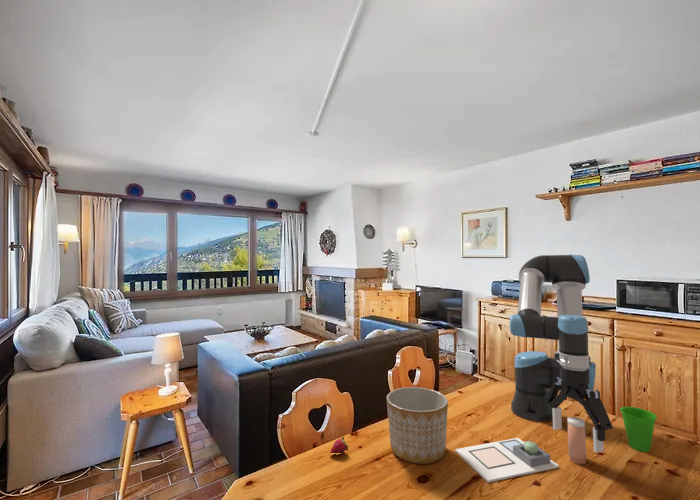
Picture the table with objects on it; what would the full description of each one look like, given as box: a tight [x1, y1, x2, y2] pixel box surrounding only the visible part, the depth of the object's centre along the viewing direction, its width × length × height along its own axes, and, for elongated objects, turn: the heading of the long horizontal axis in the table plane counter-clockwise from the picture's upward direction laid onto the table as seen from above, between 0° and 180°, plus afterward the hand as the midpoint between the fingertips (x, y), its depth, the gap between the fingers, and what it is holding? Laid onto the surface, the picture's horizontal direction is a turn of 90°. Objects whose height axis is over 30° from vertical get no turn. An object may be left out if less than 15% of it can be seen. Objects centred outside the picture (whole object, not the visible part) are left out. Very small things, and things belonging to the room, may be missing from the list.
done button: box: [524, 440, 539, 456], centre depth 103 cm, size 4×4×2 cm
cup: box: [619, 406, 658, 453], centre depth 109 cm, size 9×9×11 cm
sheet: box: [454, 437, 560, 483], centre depth 104 cm, size 16×24×1 cm, turn 105°
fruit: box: [329, 436, 350, 454], centre depth 108 cm, size 4×6×5 cm
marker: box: [566, 416, 587, 466], centre depth 102 cm, size 4×4×12 cm
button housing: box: [513, 444, 551, 467], centre depth 103 cm, size 7×7×2 cm
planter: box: [386, 386, 449, 465], centre depth 109 cm, size 19×19×16 cm
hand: (576, 439), depth 102 cm, fingers open, 13 cm apart
